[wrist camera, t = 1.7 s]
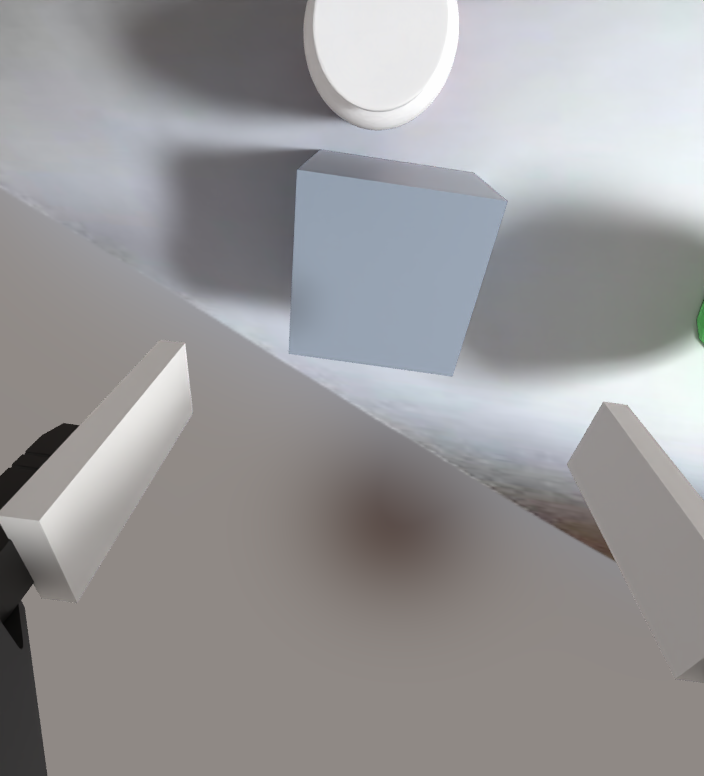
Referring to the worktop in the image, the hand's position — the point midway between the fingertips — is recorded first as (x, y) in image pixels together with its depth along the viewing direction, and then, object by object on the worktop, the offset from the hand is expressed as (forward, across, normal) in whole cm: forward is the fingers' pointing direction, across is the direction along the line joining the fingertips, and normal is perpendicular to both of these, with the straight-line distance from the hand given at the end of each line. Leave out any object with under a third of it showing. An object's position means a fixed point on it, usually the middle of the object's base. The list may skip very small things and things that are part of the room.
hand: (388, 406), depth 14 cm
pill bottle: (+19, -2, +10) cm, 21 cm away
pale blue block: (+19, 0, 0) cm, 19 cm away
